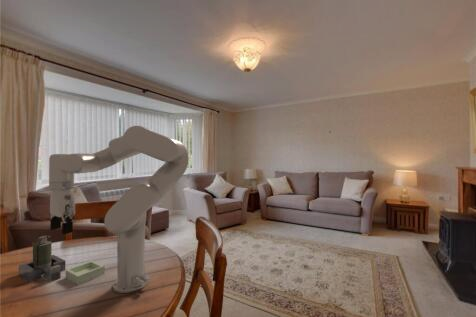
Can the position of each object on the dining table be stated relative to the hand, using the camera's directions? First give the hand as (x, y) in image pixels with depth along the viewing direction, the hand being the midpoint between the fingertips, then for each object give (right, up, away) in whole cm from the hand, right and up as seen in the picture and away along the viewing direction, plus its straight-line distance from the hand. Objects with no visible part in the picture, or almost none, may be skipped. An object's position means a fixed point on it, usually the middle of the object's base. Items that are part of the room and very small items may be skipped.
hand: (61, 231), depth 87 cm
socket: (-16, -21, +10) cm, 28 cm away
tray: (+5, -20, +7) cm, 22 cm away
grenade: (-16, -21, +10) cm, 28 cm away
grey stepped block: (-8, -21, +5) cm, 23 cm away
